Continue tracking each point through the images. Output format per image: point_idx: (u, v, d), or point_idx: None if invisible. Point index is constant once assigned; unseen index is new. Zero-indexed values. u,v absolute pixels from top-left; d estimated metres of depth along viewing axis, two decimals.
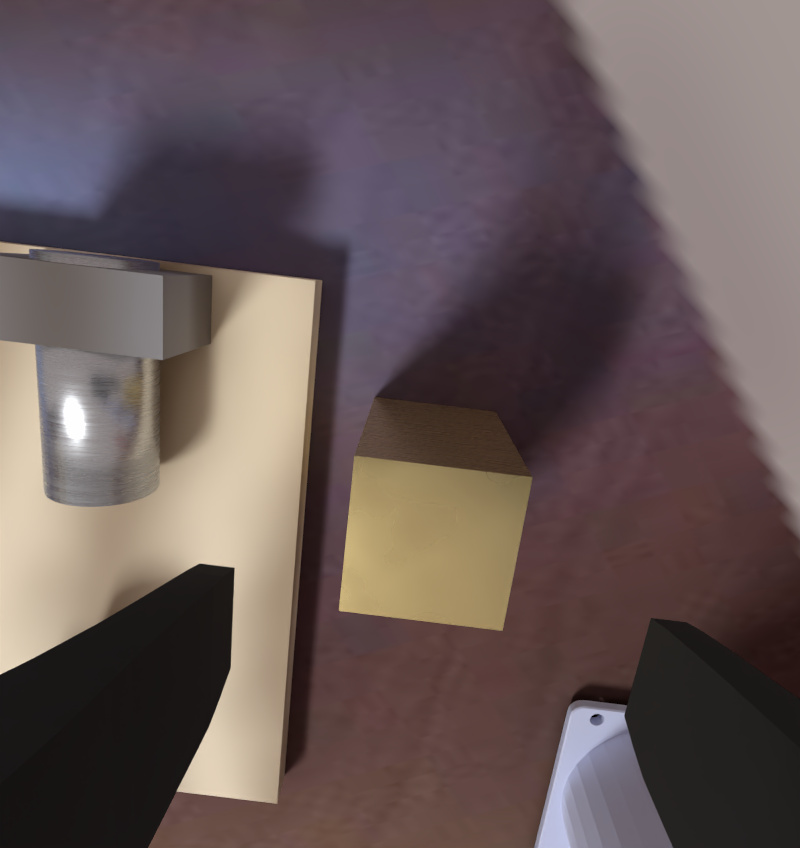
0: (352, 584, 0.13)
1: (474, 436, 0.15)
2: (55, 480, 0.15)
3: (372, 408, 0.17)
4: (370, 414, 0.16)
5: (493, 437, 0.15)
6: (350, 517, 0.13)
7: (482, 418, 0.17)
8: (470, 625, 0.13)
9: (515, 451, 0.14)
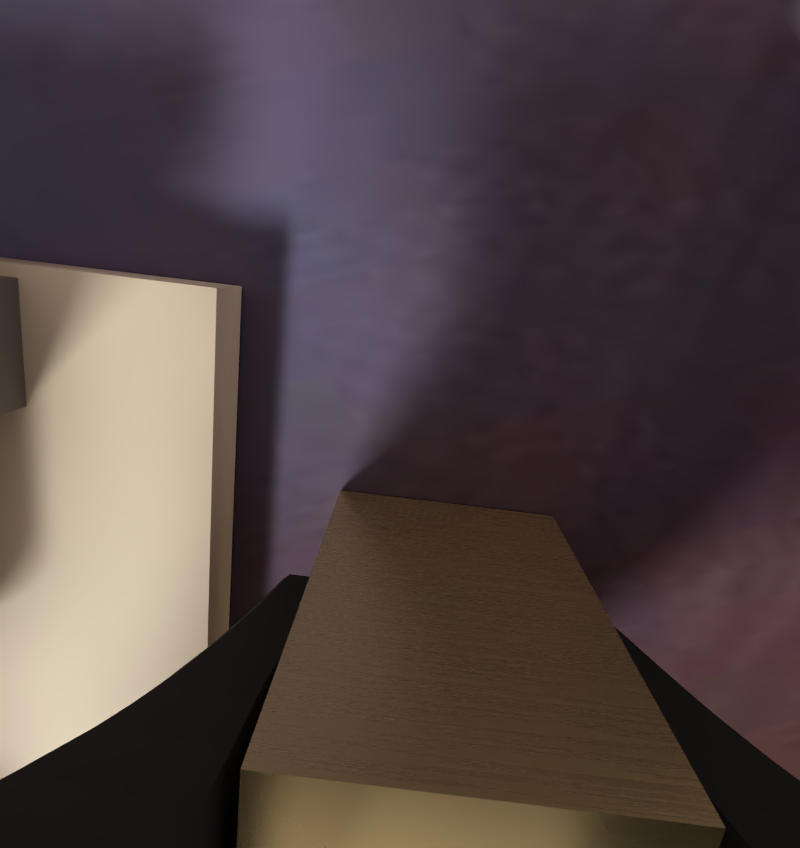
0: None
1: (532, 611, 0.07)
2: None
3: (330, 527, 0.09)
4: (322, 549, 0.08)
5: (572, 615, 0.07)
6: None
7: (535, 540, 0.09)
8: None
9: (633, 671, 0.06)
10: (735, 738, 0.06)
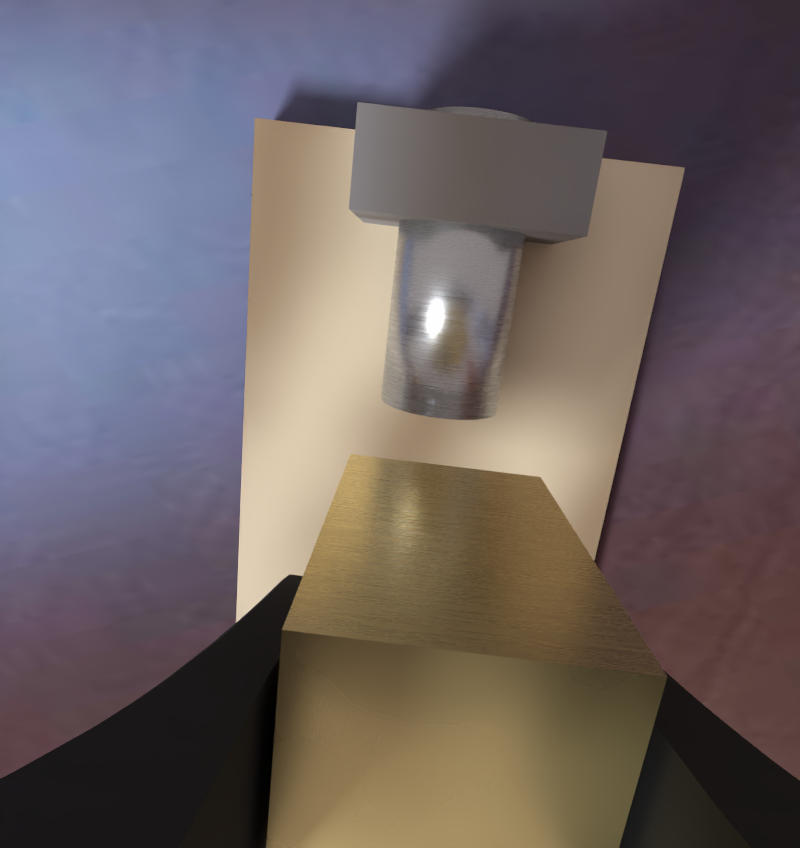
0: None
1: (519, 541, 0.08)
2: (421, 388, 0.13)
3: (342, 480, 0.10)
4: (337, 495, 0.09)
5: (554, 545, 0.08)
6: (277, 750, 0.06)
7: (523, 494, 0.10)
8: None
9: (602, 582, 0.07)
10: (735, 738, 0.06)
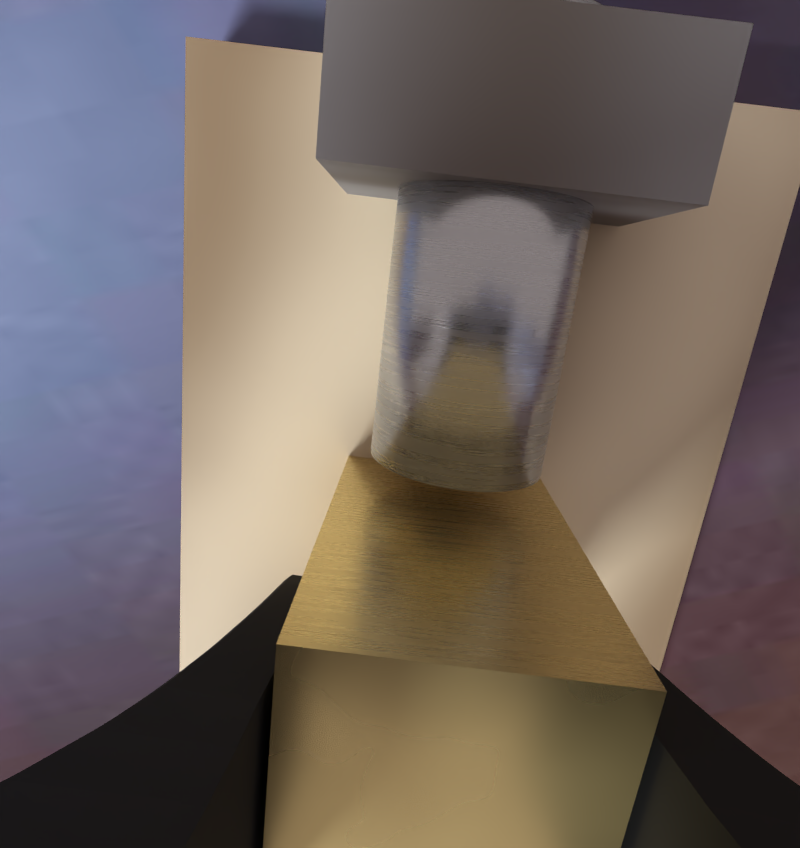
0: None
1: (518, 547, 0.08)
2: (432, 444, 0.08)
3: (340, 483, 0.10)
4: (334, 499, 0.09)
5: (552, 551, 0.08)
6: (272, 763, 0.06)
7: (523, 497, 0.10)
8: None
9: (602, 590, 0.07)
10: (727, 737, 0.06)
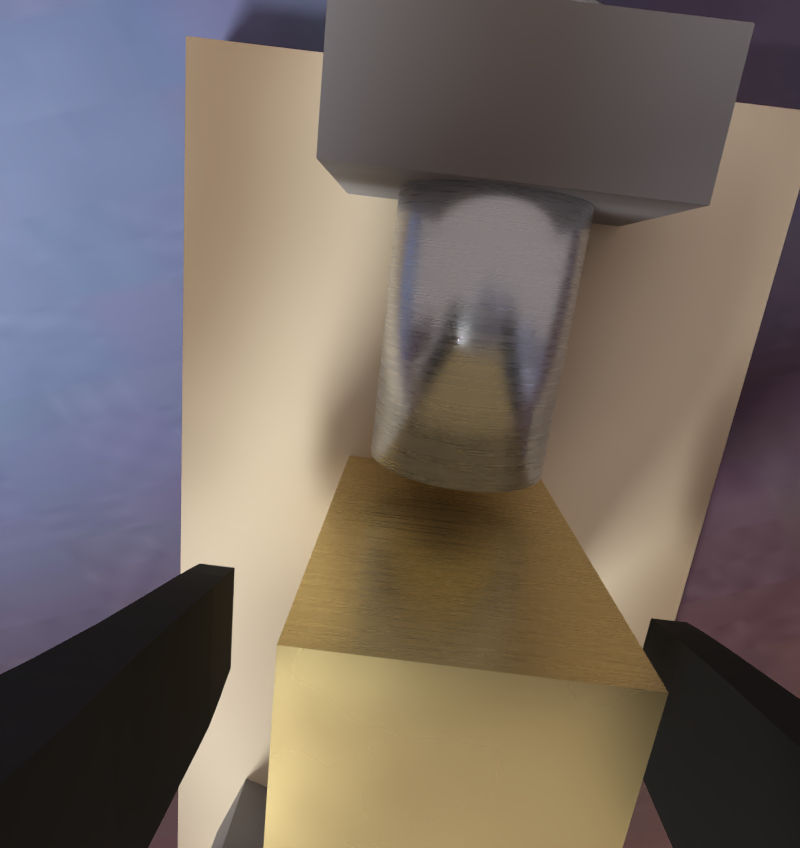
0: None
1: (519, 547, 0.08)
2: (432, 444, 0.08)
3: (341, 483, 0.10)
4: (335, 499, 0.09)
5: (553, 552, 0.08)
6: (273, 764, 0.06)
7: (524, 497, 0.10)
8: None
9: (603, 591, 0.07)
10: None
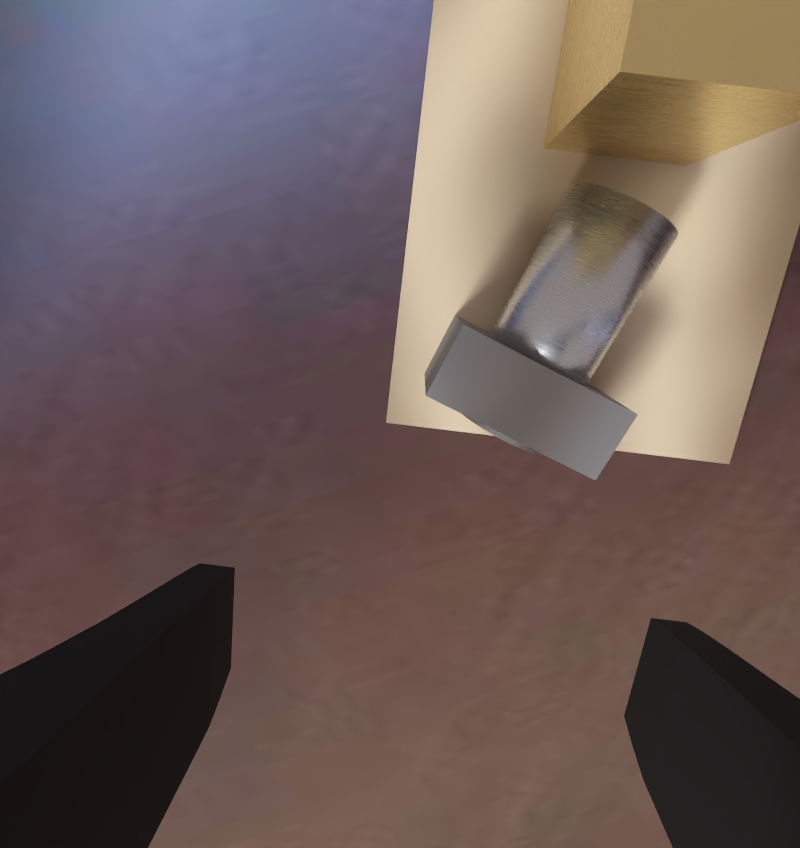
0: (646, 20, 0.09)
1: None
2: None
3: None
4: None
5: None
6: None
7: None
8: None
9: None
10: None
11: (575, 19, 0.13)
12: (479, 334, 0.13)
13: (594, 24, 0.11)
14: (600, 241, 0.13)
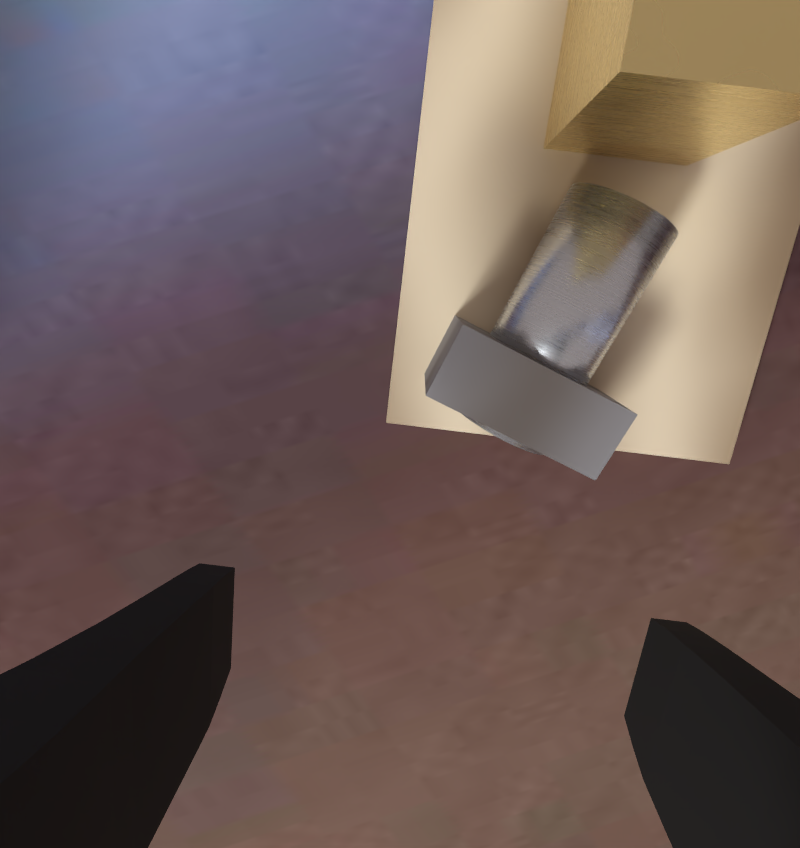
0: (646, 20, 0.09)
1: None
2: None
3: None
4: None
5: None
6: None
7: None
8: None
9: None
10: None
11: (575, 19, 0.13)
12: (479, 334, 0.13)
13: (594, 24, 0.11)
14: (600, 241, 0.13)
